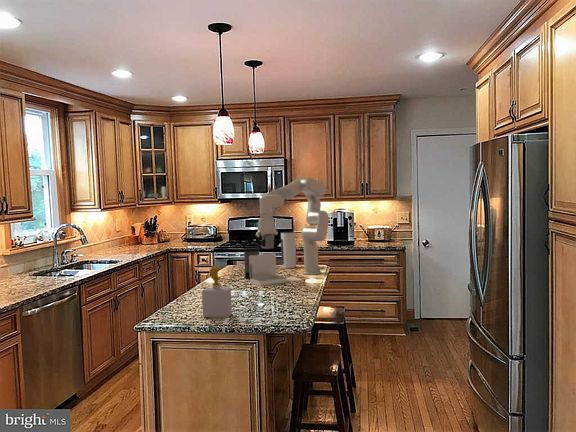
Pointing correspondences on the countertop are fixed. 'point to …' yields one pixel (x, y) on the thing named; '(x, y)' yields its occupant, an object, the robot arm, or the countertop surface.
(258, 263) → the case
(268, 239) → the block
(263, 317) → the countertop surface
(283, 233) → the speaker
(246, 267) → the electronic device
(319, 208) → the robot arm
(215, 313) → the soap bottle
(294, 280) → the flat beige panel
